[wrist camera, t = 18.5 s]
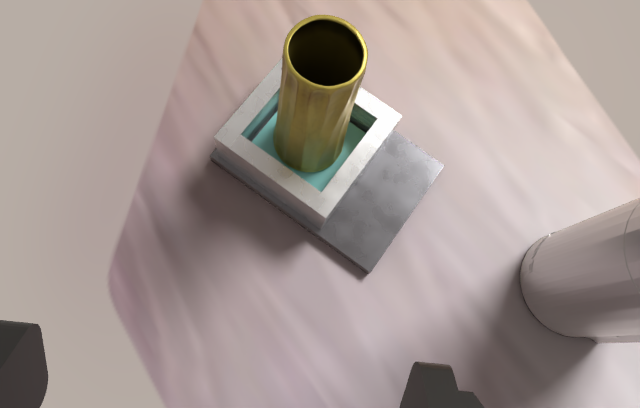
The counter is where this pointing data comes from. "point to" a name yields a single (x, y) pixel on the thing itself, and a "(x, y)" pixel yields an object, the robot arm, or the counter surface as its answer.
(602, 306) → the robot arm
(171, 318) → the counter surface
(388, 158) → the grey tray
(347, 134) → the plate
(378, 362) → the counter surface
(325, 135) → the vase
